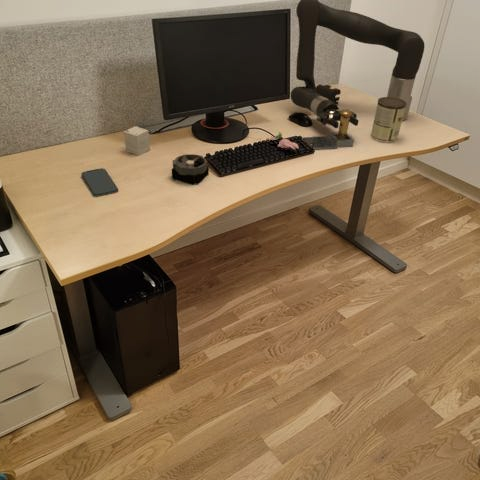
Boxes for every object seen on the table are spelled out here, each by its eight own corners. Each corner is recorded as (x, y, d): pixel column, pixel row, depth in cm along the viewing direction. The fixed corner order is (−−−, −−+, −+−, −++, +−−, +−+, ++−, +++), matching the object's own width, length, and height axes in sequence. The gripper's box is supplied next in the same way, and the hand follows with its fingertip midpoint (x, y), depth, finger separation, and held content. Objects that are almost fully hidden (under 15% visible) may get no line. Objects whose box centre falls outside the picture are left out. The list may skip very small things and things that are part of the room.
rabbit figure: (262, 147, 170) (290, 155, 159) (262, 130, 167) (290, 138, 156) (275, 143, 173) (303, 151, 162) (275, 127, 170) (303, 134, 160)
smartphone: (93, 195, 133) (80, 171, 143) (94, 200, 134) (81, 176, 144) (119, 189, 136) (104, 167, 146) (120, 194, 137) (105, 171, 147)
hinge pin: (343, 140, 174) (349, 109, 167) (348, 145, 171) (354, 113, 164) (333, 140, 174) (338, 109, 167) (337, 145, 170) (343, 114, 163)
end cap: (312, 100, 211) (314, 85, 207) (323, 97, 214) (326, 82, 210) (328, 106, 204) (330, 91, 200) (339, 104, 208) (342, 89, 204)
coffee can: (373, 130, 184) (380, 95, 176) (399, 135, 180) (408, 99, 172) (367, 139, 176) (375, 102, 168) (395, 145, 173) (404, 108, 165)
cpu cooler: (212, 157, 145) (197, 170, 138) (212, 173, 149) (197, 187, 141) (183, 150, 148) (167, 163, 141) (184, 166, 152) (168, 179, 144)
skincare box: (150, 150, 161) (149, 130, 156) (138, 156, 157) (136, 135, 152) (137, 145, 163) (136, 125, 159) (125, 151, 159) (123, 131, 155)
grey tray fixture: (344, 137, 176) (345, 131, 175) (354, 147, 169) (355, 141, 168) (298, 140, 173) (298, 133, 171) (305, 150, 166) (306, 143, 164)
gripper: (309, 101, 174) (332, 116, 161) (341, 97, 178) (366, 112, 166) (306, 120, 178) (328, 136, 166) (338, 116, 183) (362, 132, 171)
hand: (347, 124), depth 166 cm, fingers open, 8 cm apart
